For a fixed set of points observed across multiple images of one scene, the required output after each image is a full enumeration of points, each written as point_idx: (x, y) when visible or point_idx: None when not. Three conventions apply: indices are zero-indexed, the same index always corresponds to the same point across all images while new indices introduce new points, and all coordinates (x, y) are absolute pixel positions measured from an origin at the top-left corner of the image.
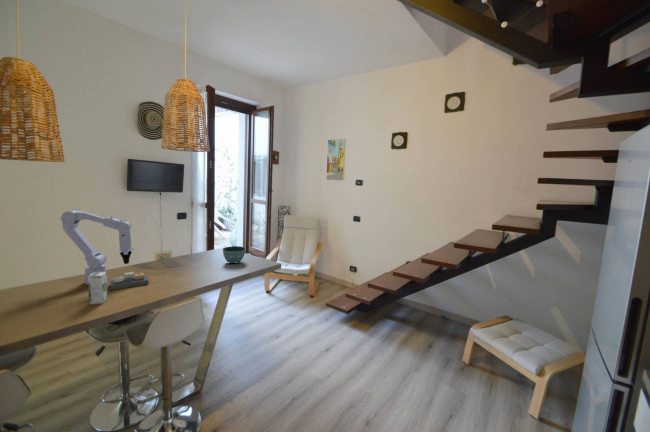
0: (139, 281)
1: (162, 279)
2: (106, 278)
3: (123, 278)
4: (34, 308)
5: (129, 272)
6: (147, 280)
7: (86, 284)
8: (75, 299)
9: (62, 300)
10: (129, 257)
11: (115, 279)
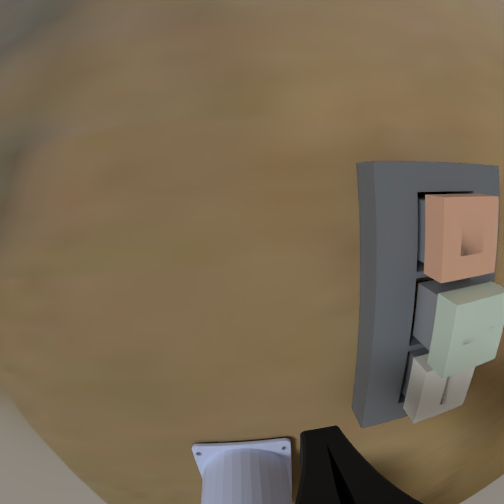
0: (498, 229)
1: (413, 56)
2: (217, 448)
3: (373, 361)
4: (444, 497)
5: (460, 338)
6: (496, 171)
7: (291, 493)
8: (459, 451)
9: (436, 478)
10: (400, 491)
11: (464, 394)
